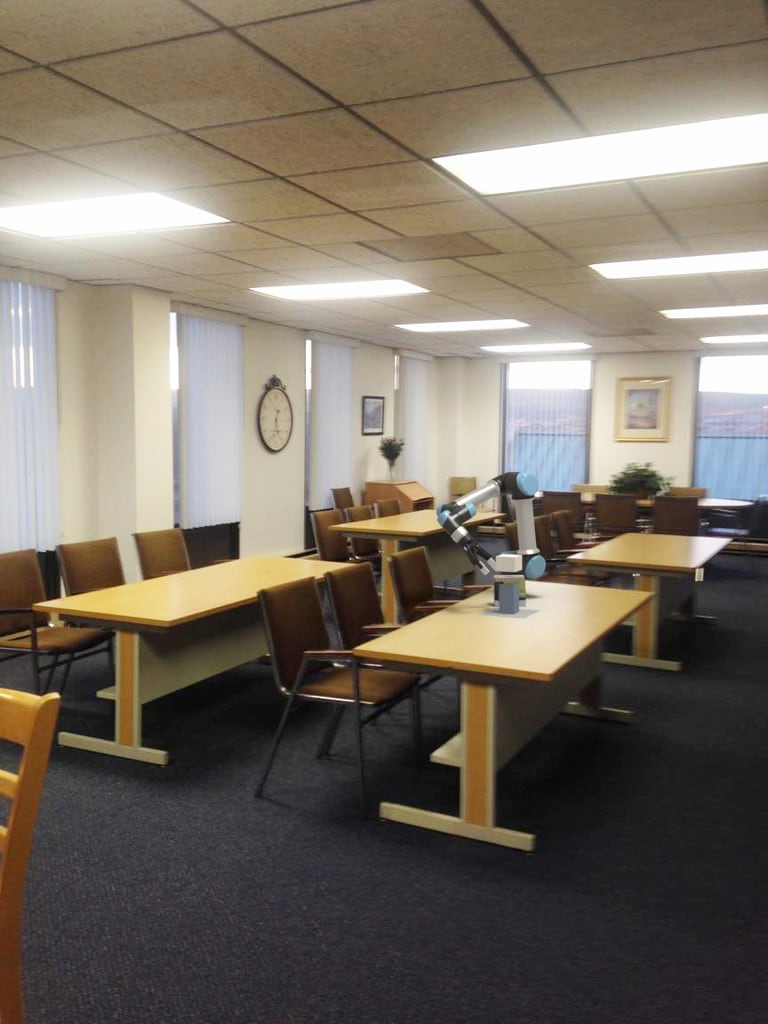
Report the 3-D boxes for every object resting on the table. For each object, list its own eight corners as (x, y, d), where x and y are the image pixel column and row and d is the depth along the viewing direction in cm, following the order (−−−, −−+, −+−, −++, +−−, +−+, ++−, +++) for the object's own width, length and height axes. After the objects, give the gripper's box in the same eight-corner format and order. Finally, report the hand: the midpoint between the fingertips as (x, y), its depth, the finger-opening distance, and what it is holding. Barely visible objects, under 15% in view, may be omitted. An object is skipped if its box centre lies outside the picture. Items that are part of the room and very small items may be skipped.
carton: (504, 610, 399) (504, 583, 399) (519, 611, 396) (519, 584, 395) (499, 613, 393) (499, 585, 392) (513, 614, 390) (513, 586, 389)
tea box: (524, 604, 419) (524, 574, 418) (525, 608, 409) (525, 577, 408) (493, 604, 420) (493, 574, 420) (494, 608, 410) (493, 577, 410)
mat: (495, 608, 410) (495, 607, 410) (540, 611, 399) (540, 610, 399) (477, 615, 390) (477, 614, 390) (524, 619, 380) (524, 618, 380)
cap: (503, 568, 400) (503, 554, 399) (522, 569, 395) (522, 555, 395) (496, 571, 392) (495, 556, 391) (515, 572, 387) (515, 557, 387)
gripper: (467, 541, 416) (497, 573, 410) (446, 546, 394) (477, 580, 388) (477, 530, 413) (507, 563, 407) (457, 535, 391) (488, 569, 385)
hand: (492, 571), depth 397 cm, fingers open, 13 cm apart
